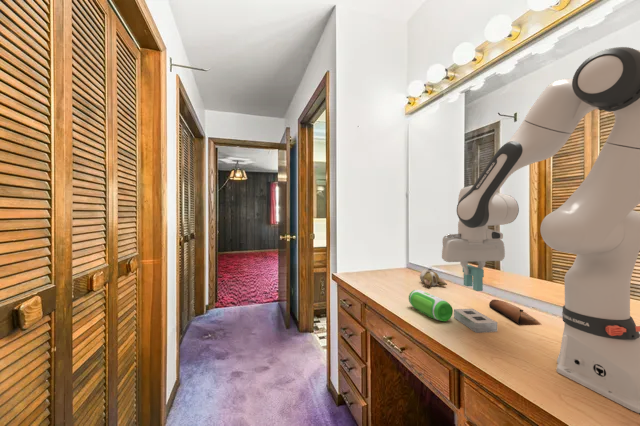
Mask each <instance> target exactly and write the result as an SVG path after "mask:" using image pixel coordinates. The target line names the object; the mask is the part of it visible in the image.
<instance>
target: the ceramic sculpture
mask: <svg viewBox="0 0 640 426" xmlns="http://www.w3.org/2000/svg"><path fill="white" fill-rule="evenodd" d="M419 280H420V281H421V282H422V283H424V285H425V286H427V287H435V286H437V285H439V286H446V285H448V283H447V282H445V280H444V279H442V278H440V276H439V275H438V273H437V272H435V271H434V270H433V269H431V268H429V269H426V268H423V269H422V271H421V272H420V275H419Z"/></svg>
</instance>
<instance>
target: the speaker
mask: <svg viewBox="0 0 640 426" xmlns="http://www.w3.org/2000/svg"><path fill="white" fill-rule="evenodd" d="M408 302H409V304H410V305H411V306H412V307H413V308H414V309H416V310H417V311H418V312H420V313H421V314H423V315H425V316H426V317H429V318H431V319H434V320H436V321H440V322H447V321H450V319H451V318H452V316H453V315H454V309H453V307H452V305H451V304H450V303H449V302H448V301H447V300H445V299H443V298H440V297H438V296H436V295H434V294H432V293H428V292H427V291H424V290H422V289H413V290H412V291H411V292H410V293H409V295H408Z"/></svg>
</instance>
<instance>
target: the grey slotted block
mask: <svg viewBox="0 0 640 426" xmlns="http://www.w3.org/2000/svg"><path fill="white" fill-rule="evenodd" d="M453 318H454V319H455V320H457V321H458V322H460V323H461V324H462V325H464V326H465V327H467V328H468V329H470V330H471V331H473V332H474V333H475V334H477V333H478V334H480V333H498V322H497V321H495V320H493V319H492V318H490V317H488V316H487V315H485V314H484V313H482V312H480V311H478V310H476V309H475V308H454V309H453Z"/></svg>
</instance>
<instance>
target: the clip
mask: <svg viewBox="0 0 640 426" xmlns="http://www.w3.org/2000/svg"><path fill="white" fill-rule="evenodd" d="M466 266H467V268H468V269H470V270H471V275H465V274H464V269H463V268H462V273H463V286H466V287H472V290H474V291H476V292H483V291H484V290H483V287H484V286H483V283H484V281H483V280H484V279H483V278H484V276H485V273H484V270H485V269H484V268H483V269H480V268H477V267H478V266H474V265H471V264H468V265H466Z"/></svg>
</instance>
